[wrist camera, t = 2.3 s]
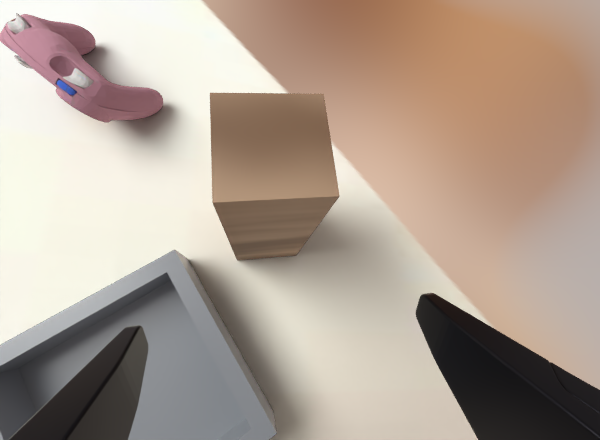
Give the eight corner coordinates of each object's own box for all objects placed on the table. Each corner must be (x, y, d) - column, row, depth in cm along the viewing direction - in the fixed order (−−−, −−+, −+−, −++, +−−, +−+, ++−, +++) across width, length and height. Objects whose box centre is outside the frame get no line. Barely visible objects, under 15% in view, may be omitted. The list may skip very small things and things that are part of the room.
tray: (273, 411, 19) (276, 433, 16) (87, 557, 16) (42, 624, 13) (187, 258, 21) (174, 249, 18) (7, 360, 18) (-50, 371, 15)
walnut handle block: (296, 255, 22) (339, 196, 11) (237, 260, 22) (212, 202, 10) (290, 201, 24) (323, 94, 12) (234, 204, 23) (210, 92, 11)
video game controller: (66, 76, 26) (-37, 29, 19) (93, 32, 25) (-4, -32, 18) (143, 145, 25) (64, 123, 18) (173, 102, 24) (103, 62, 17)
